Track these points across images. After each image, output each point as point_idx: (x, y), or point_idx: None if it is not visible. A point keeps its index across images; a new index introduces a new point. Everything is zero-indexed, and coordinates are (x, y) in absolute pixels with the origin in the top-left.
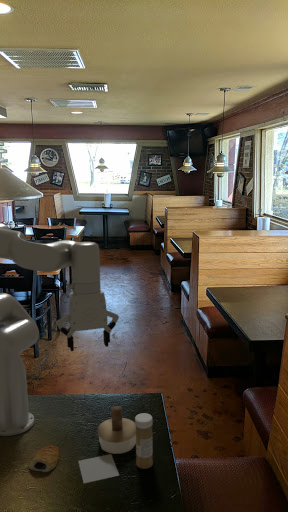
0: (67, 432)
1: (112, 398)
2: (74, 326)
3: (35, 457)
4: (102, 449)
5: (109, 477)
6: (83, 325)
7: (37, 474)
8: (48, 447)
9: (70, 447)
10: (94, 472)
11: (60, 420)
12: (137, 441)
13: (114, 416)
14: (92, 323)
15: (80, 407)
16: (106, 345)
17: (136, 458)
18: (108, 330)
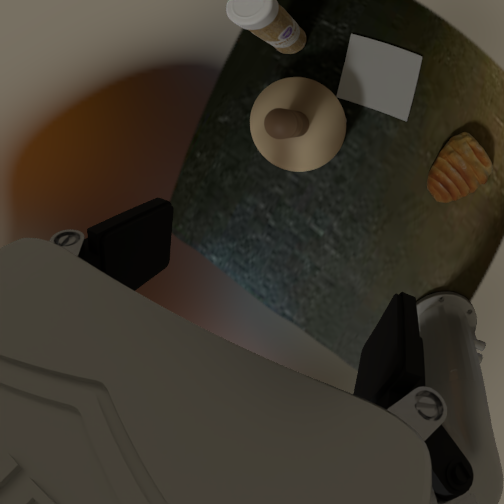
0: (376, 232)
1: (236, 279)
2: (406, 479)
3: (485, 171)
4: (346, 119)
5: (371, 39)
6: (244, 426)
7: (483, 146)
8: (449, 188)
9: (398, 178)
10: (392, 68)
11: (365, 281)
12: (289, 18)
13: (296, 115)
14: (80, 345)
15: (306, 295)
16: (165, 204)
17: (301, 41)
18: (68, 243)
